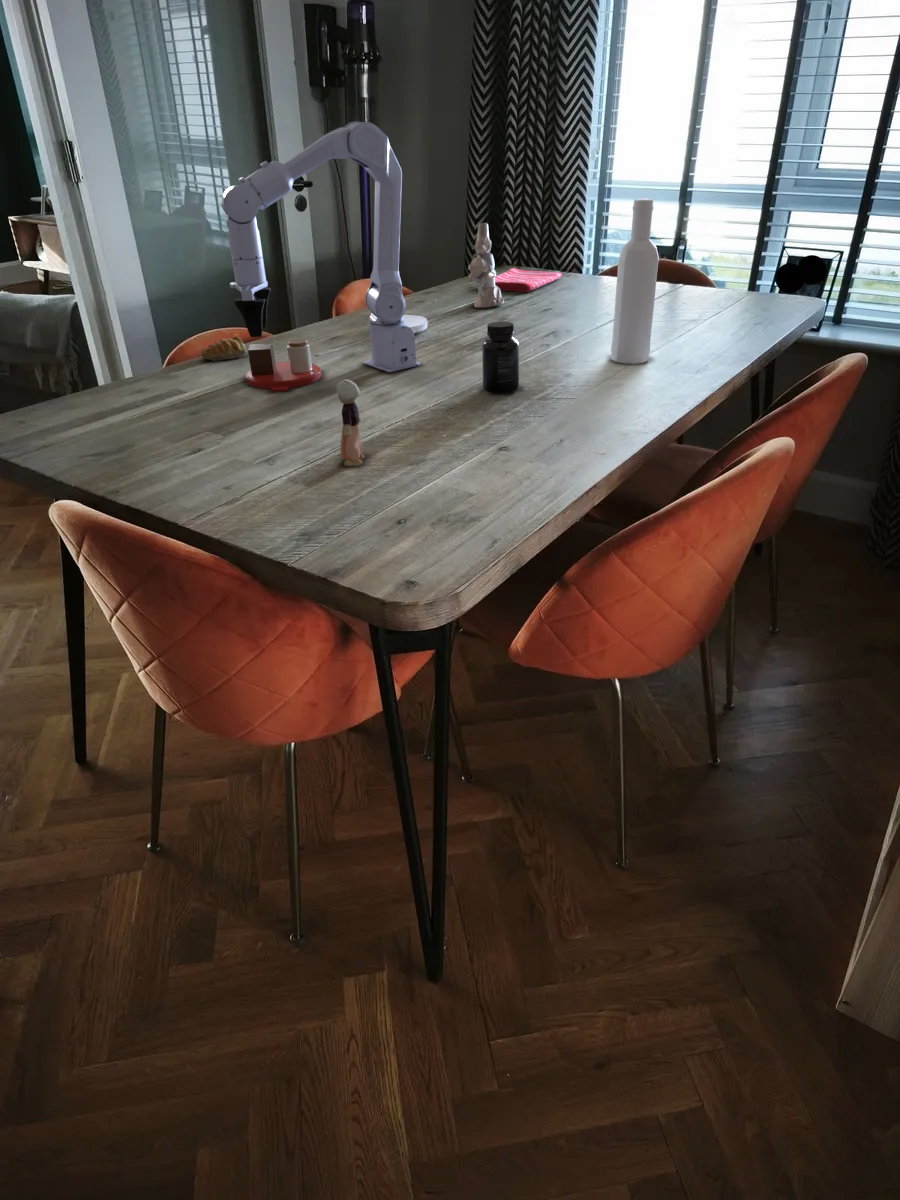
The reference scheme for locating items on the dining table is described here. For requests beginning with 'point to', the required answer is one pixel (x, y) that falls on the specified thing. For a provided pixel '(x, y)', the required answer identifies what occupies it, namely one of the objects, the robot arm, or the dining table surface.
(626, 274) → the bottle
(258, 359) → the walnut block
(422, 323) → the plastic lid
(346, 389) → the grandmother figurine
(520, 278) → the dish towel
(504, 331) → the supplement bottle
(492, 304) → the figurine
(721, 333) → the dining table surface
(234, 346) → the pastry
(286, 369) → the red lid
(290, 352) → the spice pot
